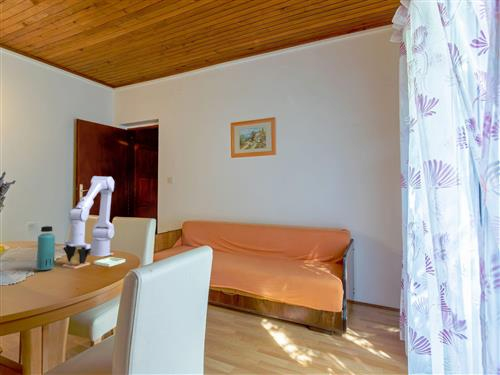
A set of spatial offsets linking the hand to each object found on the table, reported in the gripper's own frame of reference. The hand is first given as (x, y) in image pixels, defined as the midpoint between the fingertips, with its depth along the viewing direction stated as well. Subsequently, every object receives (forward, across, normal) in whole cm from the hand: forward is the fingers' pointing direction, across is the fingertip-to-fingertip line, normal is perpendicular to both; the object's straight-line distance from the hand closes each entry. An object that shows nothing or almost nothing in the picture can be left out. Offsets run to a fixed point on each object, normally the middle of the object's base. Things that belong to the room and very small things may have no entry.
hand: (76, 262), depth 130 cm
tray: (+2, +10, +10) cm, 14 cm away
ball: (+1, 0, 0) cm, 1 cm away
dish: (+2, 0, 0) cm, 2 cm away
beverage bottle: (+2, -5, -11) cm, 12 cm away
